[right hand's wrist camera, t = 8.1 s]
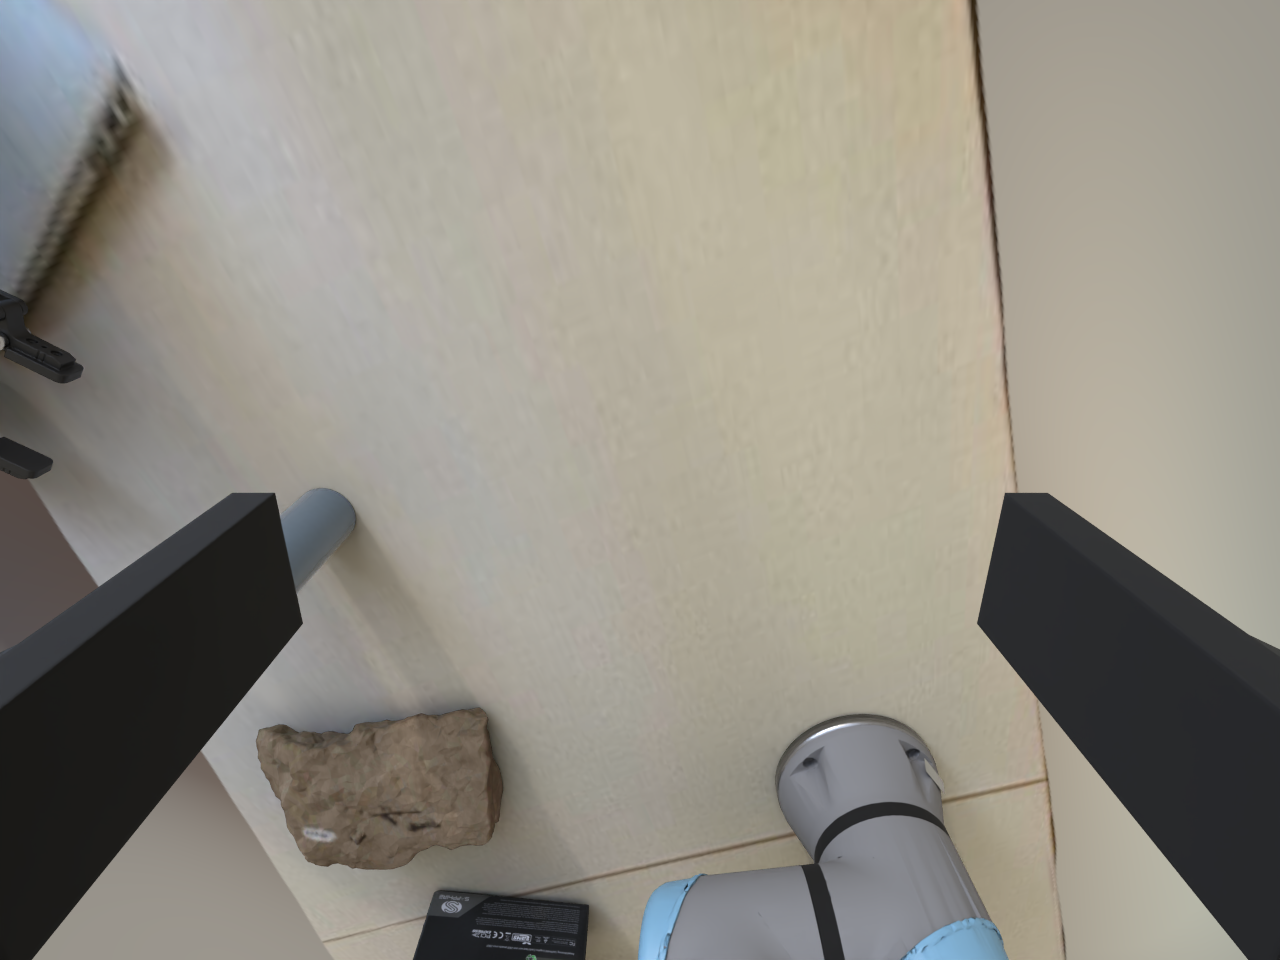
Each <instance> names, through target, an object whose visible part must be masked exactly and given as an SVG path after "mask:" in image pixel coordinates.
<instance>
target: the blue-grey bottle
mask: <svg viewBox="0 0 1280 960" xmlns="http://www.w3.org/2000/svg"><path fill="white" fill-rule="evenodd" d="M280 519H281V524H282V528H283V533H284V538H285V542H286V547H287V552H288V556H289V561H290V566H291V570H292V575H293V580H294V584H295V589H296V594H298V593H299V592H300V590H301V589H302V588H303V587H304V586H305V585H306V584H307V582H308V581H309V580H310V579H311V578H312V577H313V576H314V574H315V573H316V572H317V571H318V570H319V569H320V568H321V566H322V565H323V564H324V563H325V562H326V561H327V560H328V558H329V557H330V556H331V555H332V554H333V553H334V552H335V550H336V549H337V548H338V547H339V546H340V545H341V544H342V543H343V541H344V540H345V539H346V538H347V537H348V536H349V535H350V533H351V532H352V531H353V529H354V527H355V523H356V516H355V512H354V509H353V507H352V505H351V504H350V502H349V501H348V500H347V499H346V498H345V497H344V496H343V495H341V494H340V493H338V492H336V491H333V490H330V489H324V488H318V489H313V490H310V491H308V492H306V493H305V494H304V495H302V496H301V497H300V498H299V499H298V500H297V501H295V502H294V503H293V504H292V505H291V506H290V507H289V508H287V509H286V510H285V511H284V512H283V513H282V514H280Z"/></svg>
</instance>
